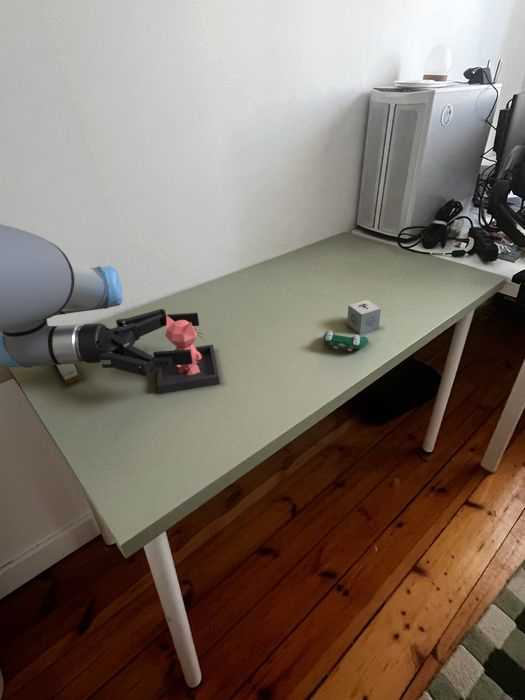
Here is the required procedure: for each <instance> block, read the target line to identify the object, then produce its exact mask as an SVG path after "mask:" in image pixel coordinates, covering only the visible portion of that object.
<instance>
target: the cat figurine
mask: <svg viewBox="0 0 525 700" xmlns="http://www.w3.org/2000/svg"><path fill="white" fill-rule="evenodd" d="M167 315H168V314H166V319H167V325H166V331H165V335H164V336H165V337H166V339H167V340H168V341H169V342H171V344H172V345H174V346H176V347H175V350H189V349H191V355H192V360H193V363H192V364H188V365H175V366H177V367H179V372H180V373H183V372H185V371H186V370H187V369H188V370H187V373H186V374H187V375H193V374H196V373H199V372H200V371H201V370H202V368H200V367H199V366H198V365H196V363H197V362H198V361H199V360H200V359H201V358H202V356H201V354H200V353H199V352H197V350H196V348H195V347H196V346H195V345H194V343H195V342H196V340H197V337H200V338H201V339H202V340H203V341H204V338H203V337H202V336H200V335H203V333H201V332H198V331H197V329H196V326H192V323H191V322H190V323H189V322H188V321H186V320H178V321H176V322H175V321H173V320H172V319H171V318H170V317H168V316H167ZM199 334H200V335H199Z"/></svg>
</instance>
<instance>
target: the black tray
mask: <svg viewBox="0 0 525 700" xmlns="http://www.w3.org/2000/svg"><path fill="white" fill-rule="evenodd" d="M194 347H195V348H196V350H197V352H199V353H200V354H201V356H202V358H201V359H200V360H199V361H198V362H197V363H196V365H198V366H199V367H200V368H202V370H201V371H200V372H199V373H196V374H193V375H187V374H186V373H187V370H188V369H187V370H186V371H185V372H183V373H180V372H179V367H177V366H175V365H172V366H167V367H164V366H163V367H157V379H156V381H157V383H156V384H157V385H156V386H157V391H158V394H167V393H173V392H178V391H186V390H191V389H197V388H203V387H208V386H209V387H211V386H217V385H220V384H221V381H220V380H221V379H220V373H219V369H218V364H217V359H216V353H215V348H214V344H205V345H200V346H194ZM173 350H174V349H172V350H171V351H173Z"/></svg>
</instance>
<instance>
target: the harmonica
mask: <svg viewBox="0 0 525 700" xmlns="http://www.w3.org/2000/svg"><path fill="white" fill-rule="evenodd" d="M54 367H55V369H56V370H57V372H58V374H59V377H60V378H61V380H62V382H63V383H64V384H65V385H69V384H72V383H74V382H76V381H79V380H81V375H80V374H79V372H78V370H77V369H76V367H75V364H62V365H54Z"/></svg>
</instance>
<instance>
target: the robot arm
mask: <svg viewBox="0 0 525 700" xmlns="http://www.w3.org/2000/svg"><path fill="white" fill-rule="evenodd" d="M123 301H124V296H123V288H122V283H121V278H120V274H119V272H118V270H117V268H116V267H115V266H112V265H109V266H100V265H99V266H96V267H88V266H86V265H83V264H81V263H78V262H76V261H73V260H71V259H69V258H68V256H67V254H66V253H65V252H64V251H63V250H62V249H61V248H60V247H59V246H58V245H56V244H55V243H54V242H51V241H49V240H48V239H46V238H44V237H41V236H39V235H37V234H35V233H32V232H30V231H27V230H23V229H20V228H17V227H13V226H10V225H5V224H1V223H0V364H2V365H3V366H4V367H8V368H26V369H30V368H33V367H43V366H55V365H62V364H73V365H78V364H84V363H86V364H96V363H97V364H98V363H100V365H101V368H103V369H116V370H119V371H123V372H127V373H132V374H135V375H139V376H143V377H147V376H149V375H150V374H154V373H156V372H157V370H156V368H158V367H163V366H164V367H167V366H172V365H188V364H192V363H193V360H192V355H191V349H189V350H176V349H172V350H173V351H172V350H160V351H159V350H158V351H153V353H152V354H150V353H148V352H147V351H144V350H142V349H140V348H137V347H136V346H134V344H135V343H136V342H138V341H139V340H140V339H141V337H143V336H145V335H147V334H150V333H152V332H154V331H157V330H159V329H162V328H164V327H167V319H166V315H167V316H168V317H170V318H171V319H172V320H173V321H175V322H176V321H178V320H186V321H188V322H189V323H190V322H191V323H192V326H193V327H200V321H199V313H198V312H186V313H171V314H167V313H166V309H163V308H160V309H156V310H152V311H149V312H145V313H141V314H137V315H134V316H131V317H126V318H125V317H124V318H118V319H116V320H115V323H116V327H112V328H109V327H107V326H106V324H104V323H102V322H95V323H84V324H83V325H82V324H80V323H78V324H65V325H64V324H63V325H49V324H48V319H50V318H52V317H56V316H60V315H62V316H63V315H68V314H75V313H81V312H90V311H96V310H105V309H109V308H113V307H118V306H120V305H122V304H123Z"/></svg>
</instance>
